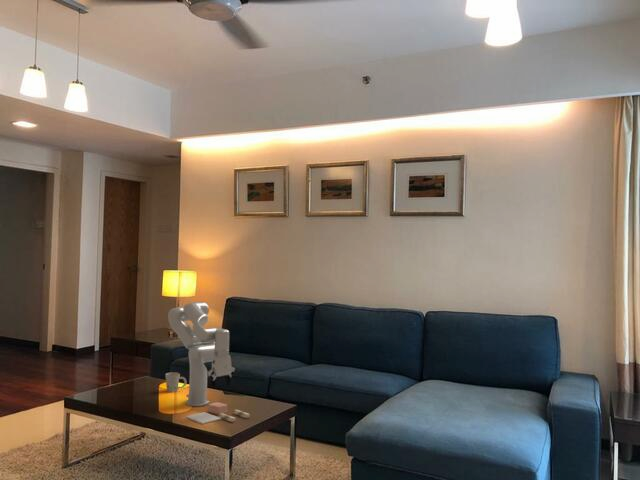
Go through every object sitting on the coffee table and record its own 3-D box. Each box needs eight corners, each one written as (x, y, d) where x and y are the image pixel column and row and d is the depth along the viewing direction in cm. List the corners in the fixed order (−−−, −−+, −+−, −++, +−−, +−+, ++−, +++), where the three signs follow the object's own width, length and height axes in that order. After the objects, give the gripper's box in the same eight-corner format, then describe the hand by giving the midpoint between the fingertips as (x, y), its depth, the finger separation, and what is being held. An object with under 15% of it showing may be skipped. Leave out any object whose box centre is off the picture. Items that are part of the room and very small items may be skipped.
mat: (186, 417, 258) (186, 416, 258) (204, 413, 266) (204, 411, 266) (202, 424, 248) (202, 422, 248) (221, 419, 256) (221, 418, 256)
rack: (219, 417, 259) (219, 413, 259) (235, 413, 267) (236, 409, 267) (233, 422, 252) (233, 418, 252) (249, 418, 260) (249, 414, 260)
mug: (166, 389, 311) (166, 372, 312) (187, 389, 313) (188, 372, 313) (163, 392, 303) (164, 375, 303) (185, 392, 304) (185, 375, 305)
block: (208, 412, 268) (208, 404, 268) (216, 409, 273) (216, 402, 273) (219, 415, 264) (219, 407, 264) (227, 412, 269) (227, 404, 269)
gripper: (212, 356, 260) (211, 390, 259) (239, 352, 273) (238, 384, 272) (203, 354, 265) (202, 387, 264) (230, 350, 278) (229, 382, 277)
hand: (220, 386), depth 268 cm, fingers open, 9 cm apart
